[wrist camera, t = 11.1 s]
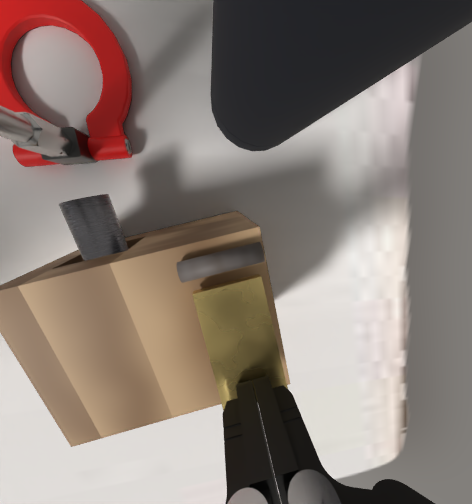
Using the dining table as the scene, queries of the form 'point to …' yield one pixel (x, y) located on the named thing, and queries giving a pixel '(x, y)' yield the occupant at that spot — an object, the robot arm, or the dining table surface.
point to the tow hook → (98, 121)
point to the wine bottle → (312, 57)
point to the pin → (94, 226)
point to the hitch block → (129, 325)
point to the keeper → (238, 334)
